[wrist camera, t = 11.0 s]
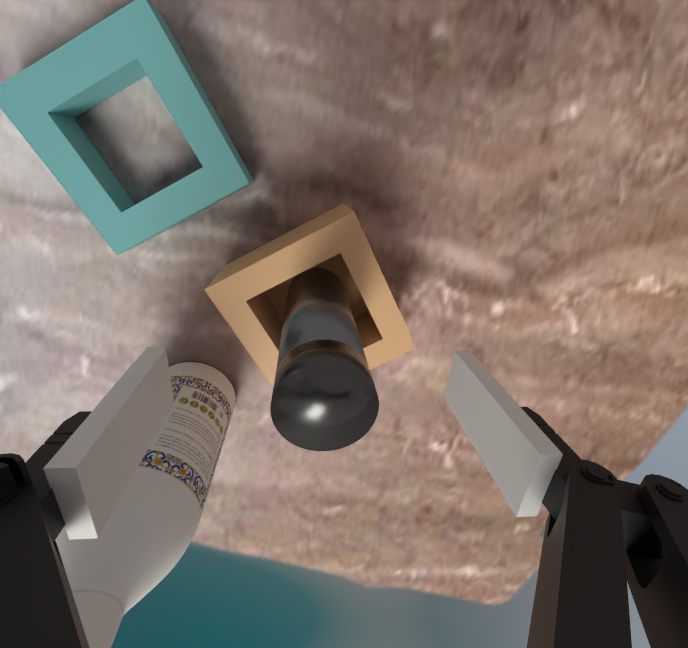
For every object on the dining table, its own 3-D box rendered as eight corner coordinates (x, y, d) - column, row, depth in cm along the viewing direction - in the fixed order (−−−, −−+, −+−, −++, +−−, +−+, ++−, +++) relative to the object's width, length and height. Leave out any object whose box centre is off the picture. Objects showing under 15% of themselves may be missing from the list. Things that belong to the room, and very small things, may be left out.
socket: (225, 264, 26) (204, 289, 21) (344, 202, 25) (354, 211, 20) (291, 365, 30) (287, 408, 25) (395, 314, 29) (416, 348, 24)
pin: (277, 283, 26) (249, 392, 14) (329, 257, 26) (350, 344, 13) (305, 330, 28) (303, 465, 15) (354, 306, 28) (394, 424, 15)
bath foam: (165, 347, 29) (-81, 659, 10) (247, 375, 30) (159, 682, 12) (144, 412, 31) (-88, 760, 13) (222, 434, 33) (116, 767, 14)
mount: (22, 100, 21) (-12, 91, 19) (161, 14, 20) (143, -6, 18) (133, 247, 25) (116, 255, 23) (254, 181, 24) (249, 183, 22)
